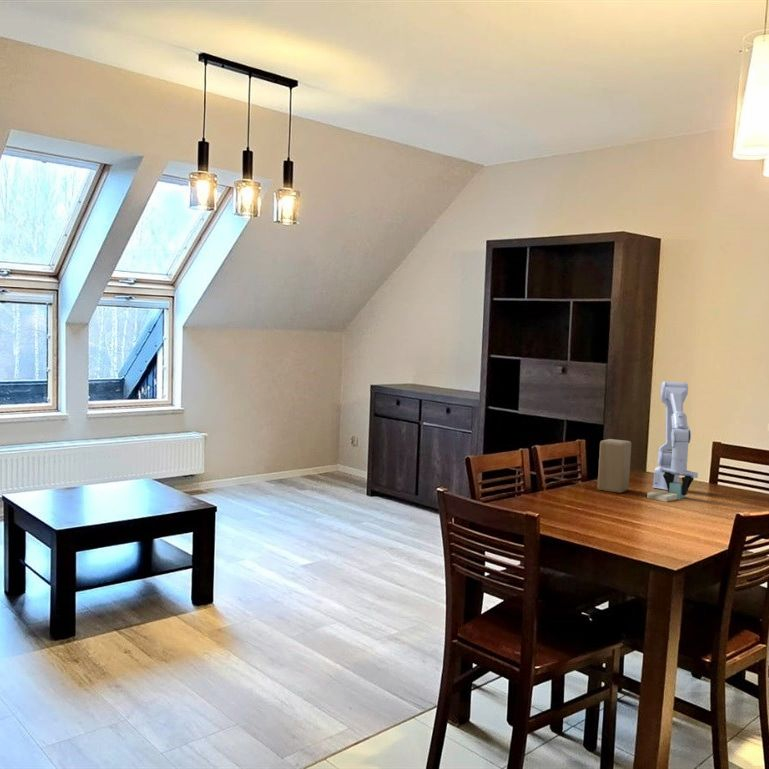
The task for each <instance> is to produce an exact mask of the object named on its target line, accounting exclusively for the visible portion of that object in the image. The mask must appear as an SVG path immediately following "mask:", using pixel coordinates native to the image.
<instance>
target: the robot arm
mask: <svg viewBox="0 0 769 769" xmlns="http://www.w3.org/2000/svg"><path fill="white" fill-rule="evenodd" d="M688 393H689V386H688V383H687V382H686V381H685V382H680V381H679V382H678V381H665V380H663V381H662V382H661V385H660V402H661V403H663V404H664V405H665V406H664V407H665V443H664V444H662V445H660V447H659V448H658V450H657V451H658V453H657V466H655V469H654V472H653V484H652V488H655V489H659V490H665V491H667V492H669V486H670V483H672V482H679V483H680V477H681V476H682V477H681V483H683V490H682V495H687V494H688V491H689V489H690V487H691V486H690V485H691V484H692V482H693V481H694V480H695V479H698V478H699V473H698V472H694V471H691V470H687V469H688V456H689V454H688V452H689V444H690V443H691V439H692V438H691V437H692V434H691V429H690V427H689V426H688V418H687V414H686V413H684V403H685V401H686V398H687V396H688Z"/></svg>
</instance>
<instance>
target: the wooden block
mask: <svg viewBox="0 0 769 769" xmlns="http://www.w3.org/2000/svg"><path fill="white" fill-rule="evenodd" d="M631 455H632V442H631V441H630V440H623V439H613V438H608V439H604V440H600V442H599V454H598V456H599V457H598V474H597V490H598V491H602V490H603V492H609V491H610V492H611V493H615V494H616V493H617V494H622V493H624V492H626V491H629V487H630V474H631V458H632V457H631ZM610 492H609V493H610Z"/></svg>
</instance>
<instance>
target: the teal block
mask: <svg viewBox="0 0 769 769" xmlns="http://www.w3.org/2000/svg"><path fill="white" fill-rule="evenodd" d="M682 490H683V483H682V482H680V481H679V482H672V483H670V486H669V493H674V494H677V499H678V500H681V499H685V498H686V497H687V496H686V495H682Z"/></svg>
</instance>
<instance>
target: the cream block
mask: <svg viewBox="0 0 769 769" xmlns="http://www.w3.org/2000/svg"><path fill="white" fill-rule="evenodd" d="M646 498H647V499H652V500H657V501H662V502H671V501H675V500H676V501H677V499H678V498H677V494H674V493H669V492H668V491H662V490H654V491H650V492H647V497H646Z"/></svg>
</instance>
